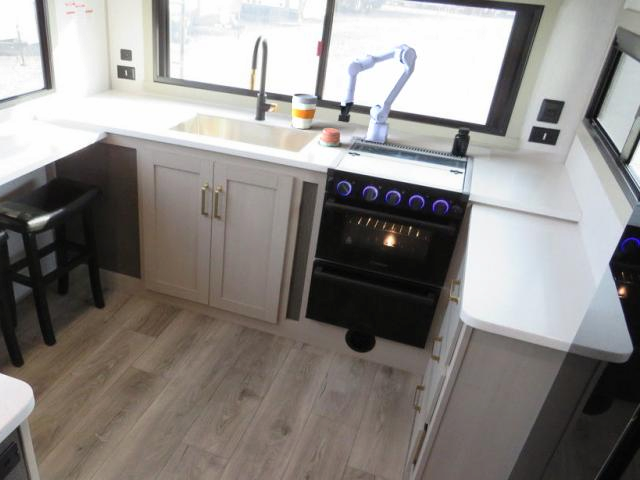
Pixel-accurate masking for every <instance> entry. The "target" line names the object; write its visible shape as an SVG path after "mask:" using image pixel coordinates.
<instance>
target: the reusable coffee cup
mask: <svg viewBox="0 0 640 480" xmlns="http://www.w3.org/2000/svg"><path fill="white" fill-rule="evenodd" d="M317 104H318V96H317V95H315V94H309V93H294V94H292V106H291V116H292V126H293V127H294V128H298V129H304V130H305V129H310V128H311V127H312V122H313V119H314V117H315V114H316V110H317V109H316V107H317Z"/></svg>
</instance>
